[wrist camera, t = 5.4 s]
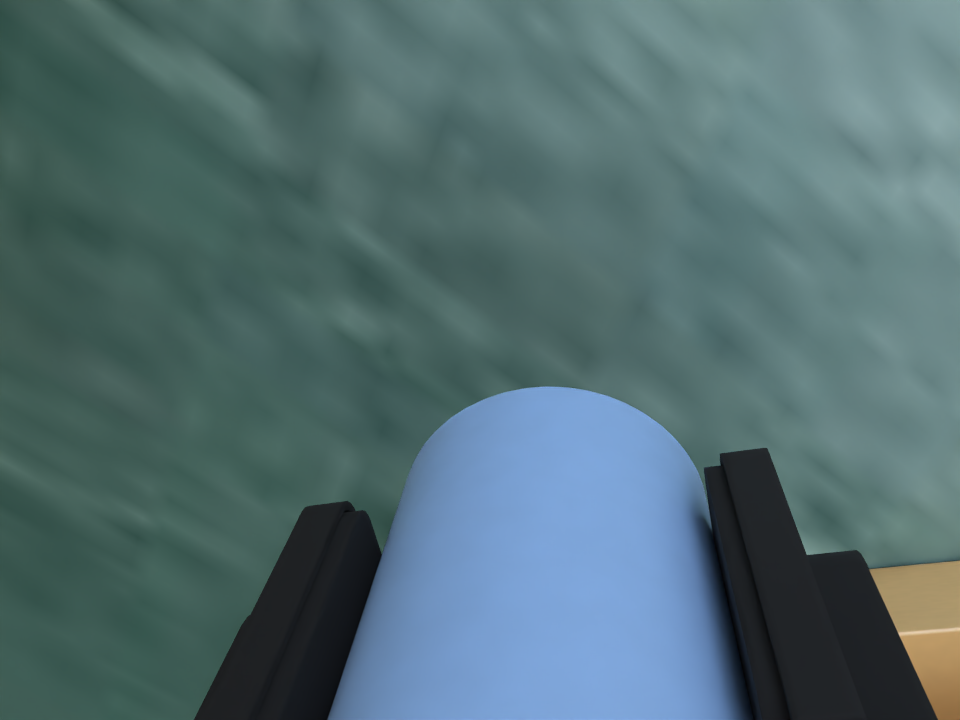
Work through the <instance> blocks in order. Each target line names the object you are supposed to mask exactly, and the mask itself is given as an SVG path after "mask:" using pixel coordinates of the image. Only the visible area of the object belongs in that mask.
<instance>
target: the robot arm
mask: <svg viewBox="0 0 960 720" xmlns="http://www.w3.org/2000/svg"><path fill="white" fill-rule="evenodd" d="M720 464H721V466H713V467H705V468H704V474H705V482H706V489H707V497H708V504H709V512H710V519H711V527H712V534H713V538H714V543H715V547H716V552H717V556H718V561H719V565H720V570H721V574H722V579H723V583H724V588H725V593H726V597H727V602H728V606H729V611H730V615H731V620H732V624H733V629H734V633H735V638H736V642H737V647H738V651H739V656H740V661H741V665H742V670H743V674H744V679H745V683H746V688H747V692H748V697H749V701H750V706H751V710H752V715H753V719H754V720H938V718H937V716H936V714H935V712H934V710H933V708H932V705H931V703H930V701H929V699H928V697H927V694H926V692H925V690H924V688H923V686H922V684H921V681H920V679H919V677H918V675H917V673H916V671H915V668H914V666H913V664H912V662H911V660H910V657H909V655H908V653H907V651H906V649H905V647H904V644H903V642H902V640H901V638H900V636H899V634H898V631H897V629H896V627H895V625H894V623H893V620H892V618H891V616H890V614H889V612H888V610H887V607H886V605H885V603H884V601H883V599H882V596H881V594H880V592H879V590H878V588H877V586H876V583H875V581H874V579H873V577H872V575H871V573H870V570H869V568H868V566H867V564H866V562H865V560H864V558H863V557H862V555H861V553H859V552H858V551H857V550H853V551H844V552H834V553H824V554H814V555H806V552H805V549H804V547H803V544H802V541H801V538H800V536H799V533H798V530H797V527H796V525H795V522H794V519H793V517H792V514H791V511H790V508H789V506H788V503H787V500H786V498H785V495H784V492H783V489H782V487H781V484H780V481H779V478H778V476H777V473H776V470H775V468H774V465H773V462H772V459H771V457H770V454H769V452H768V449H767V448H760V449H752V450H745V451H737V452H729V453H721V454H720ZM381 556H382V554H381V551H380V548H379V545H378V542H377V539H376V536H375V533H374V530H373V527H372V524H371V520H370V518H369V516H368V514H367V513H366V511H363V510H361V511H355V508H354V507H353V505H352V504H351V503H350V502H348V501H344V502H336V503H329V504H321V505H313V506H308V507H305V508H304V510H303V511H302V513H301V515H300V517H299V519H298V521H297V523H296V525H295V527H294V529H293V531H292V533H291V535H290V537H289V539H288V541H287V543H286V545H285V547H284V549H283V551H282V553H281V555H280V557H279V559H278V561H277V563H276V565H275V567H274V569H273V571H272V573H271V575H270V577H269V579H268V581H267V583H266V585H265V587H264V589H263V591H262V593H261V595H260V597H259V599H258V601H257V603H256V605H255V607H254V609H253V611H252V613H251V615H250V616H248V617H247V618H246V620H245V621H244V623H243V624H242V626H241V627H240V629H239V631H238V633H237V635H236V637H235V639H234V641H233V643H232V645H231V647H230V649H229V651H228V653H227V655H226V657H225V659H224V661H223V663H222V665H221V667H220V669H219V671H218V673H217V675H216V677H215V679H214V681H213V683H212V685H211V687H210V689H209V691H208V693H207V695H206V697H205V699H204V701H203V703H202V705H201V707H200V709H199V711H198V713H197V715H196V717H195V719H194V720H327V719H328V716H329V713H330V710H331V707H332V704H333V701H334V698H335V695H336V692H337V689H338V686H339V683H340V680H341V677H342V674H343V671H344V668H345V665H346V662H347V659H348V656H349V653H350V650H351V647H352V644H353V641H354V638H355V635H356V631H357V628H358V625H359V622H360V619H361V616H362V613H363V610H364V607H365V604H366V601H367V598H368V595H369V592H370V589H371V586H372V583H373V580H374V577H375V574H376V571H377V568H378V565H379V562H380V559H381Z"/></svg>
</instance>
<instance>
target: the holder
mask: <svg viewBox="0 0 960 720" xmlns="http://www.w3.org/2000/svg"><path fill="white" fill-rule="evenodd" d="M869 570H870V573H871V575H872V577H873V579H874V581H875V583H876V586H877V588H878V590H879V592H880V594H881V596H882V599H883V601H884V603H885V605H886V607H887V610H888V612H889V614H890V616H891V618H892V620H893V623H894V625H895V627H896V629H897V631H898V634H899V636H900V638H901V640H902V642H903V644H904V647H905V649H906V651H907V653H908V655H909V657H910V660H911V662H912V664H913V666H914V668H915V671H916V673H917V675H918V677H919V679H920V681H921V684H922V686H923V688H924V690H925V692H926V694H927V697H928V699H929V701H930V703H931V705H932V708H933V710H934V712H935V714H936V716H937V718H938V720H960V561H949V562H939V563H928V564H918V565H907V566H896V567H886V568H875V569H869Z"/></svg>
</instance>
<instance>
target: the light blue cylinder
mask: <svg viewBox="0 0 960 720" xmlns="http://www.w3.org/2000/svg"><path fill="white" fill-rule="evenodd" d="M327 720H754V719H753V715H752V710H751V706H750V701H749V697H748V692H747V688H746V683H745V679H744V674H743V670H742V665H741V661H740V656H739V651H738V647H737V642H736V638H735V633H734V629H733V624H732V620H731V615H730V611H729V606H728V602H727V597H726V593H725V588H724V583H723V579H722V574H721V570H720V565H719V561H718V556H717V552H716V547H715V543H714V538H713V534H712V527H711V519H710V513H709V508H708V504H707V500H706V495H705V491H704V486H703V484H702V481H701V479H700V476H699V474H698V471H697V469H696V467H695V466H694V464H693V462H692V460H691V459H690V457H689V455H688V454H687V453H686V451H685V450H684V449H683V447H682V446H681V445H680V444H679V442H678V441H677V440H676V439H675V438H674V437H673V436H672V435H671V434H670V433H669V432H668V431H667V430H666V429H665V428H664V427H662V426H661V425H660V424H659V423H657V422H656V421H654V420H653V419H652V418H650V417H649V416H647V415H646V414H645V413H643V412H641V411H639V410H637V409H635V408H634V407H632V406H630V405H628V404H626V403H624V402H621V401H619V400H616V399H614V398H611V397H609V396H606V395H603V394H599V393H595V392H591V391H588V390H582V389H575V388H568V387H533V388H523V389H518V390H513V391H509V392H504V393H501V394H498V395H495V396H492V397H489V398H486V399H483V400H481V401H479V402H477V403H475V404H473V405H471V406H469V407H467V408H465V409H464V410H462V411H460V412H459V413H457V414H456V415H454V416H453V417H451V418H450V419H449V420H447V421H446V422H445V423H444V424H443V425H442V426H441V427H440V428H438V429H437V430H436V431H435V432H434V433H433V435H432V436H431V437H430V438H429V439H428V440H427V442H426V443H425V444H424V445H423V447H422V449H421V450H420V452H419V453H418V455H417V457H416V458H415V460H414V462H413V465H412V467H411V470H410V472H409V474H408V477H407V480H406V483H405V486H404V489H403V492H402V495H401V498H400V501H399V504H398V507H397V511H396V514H395V517H394V520H393V523H392V526H391V529H390V532H389V535H388V538H387V541H386V544H385V547H384V550H383V553H382V556H381V559H380V562H379V565H378V568H377V571H376V574H375V577H374V580H373V583H372V586H371V589H370V592H369V595H368V598H367V601H366V604H365V607H364V610H363V613H362V616H361V619H360V622H359V625H358V628H357V631H356V635H355V638H354V641H353V644H352V647H351V650H350V653H349V656H348V659H347V662H346V665H345V668H344V671H343V674H342V677H341V680H340V683H339V686H338V689H337V692H336V695H335V698H334V701H333V704H332V707H331V710H330V713H329V716H328V719H327Z"/></svg>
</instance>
